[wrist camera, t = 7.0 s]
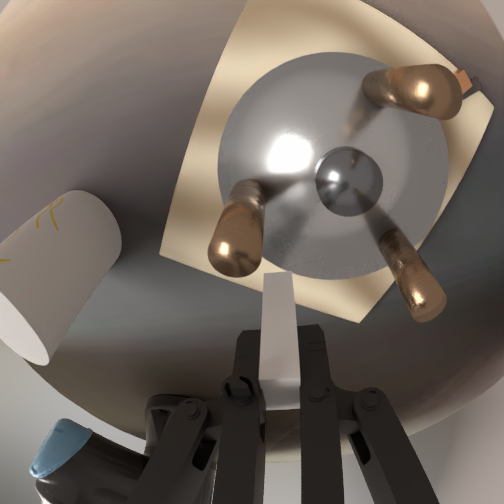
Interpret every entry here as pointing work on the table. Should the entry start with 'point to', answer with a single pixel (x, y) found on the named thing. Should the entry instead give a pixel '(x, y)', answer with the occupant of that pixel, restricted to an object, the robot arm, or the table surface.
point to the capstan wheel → (337, 172)
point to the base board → (253, 68)
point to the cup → (54, 271)
